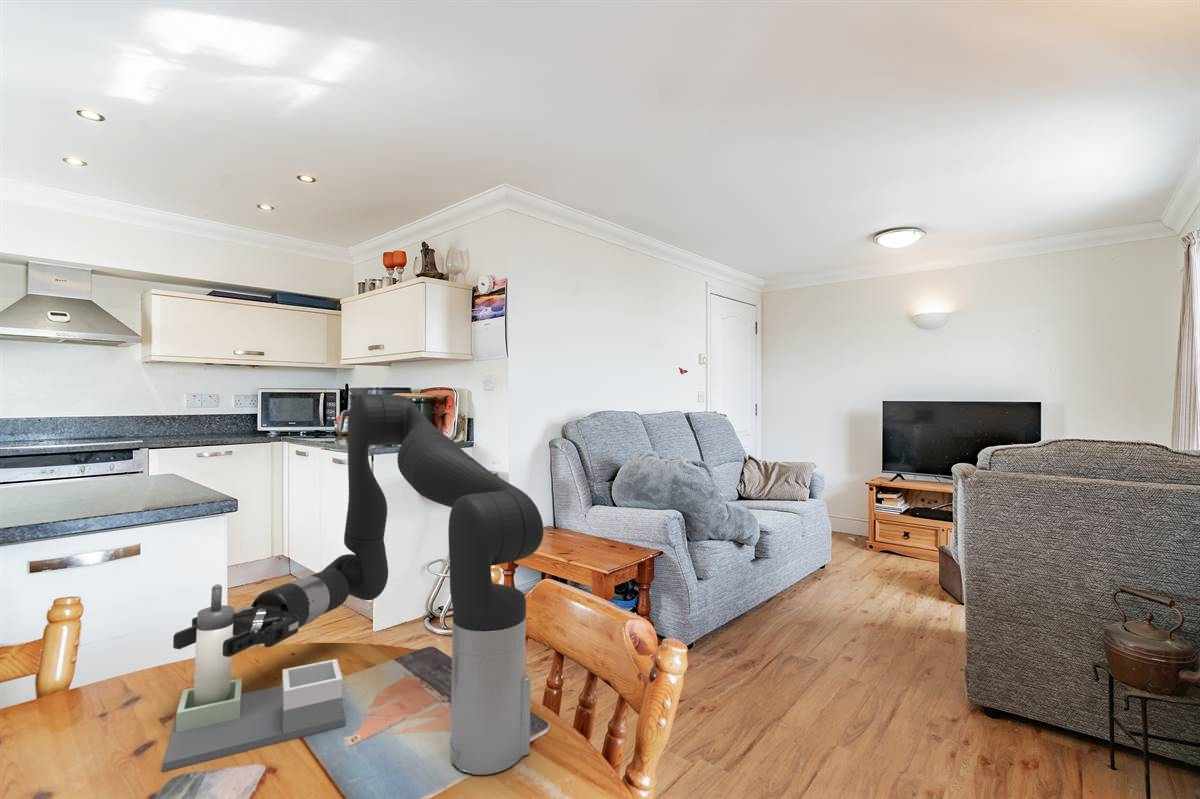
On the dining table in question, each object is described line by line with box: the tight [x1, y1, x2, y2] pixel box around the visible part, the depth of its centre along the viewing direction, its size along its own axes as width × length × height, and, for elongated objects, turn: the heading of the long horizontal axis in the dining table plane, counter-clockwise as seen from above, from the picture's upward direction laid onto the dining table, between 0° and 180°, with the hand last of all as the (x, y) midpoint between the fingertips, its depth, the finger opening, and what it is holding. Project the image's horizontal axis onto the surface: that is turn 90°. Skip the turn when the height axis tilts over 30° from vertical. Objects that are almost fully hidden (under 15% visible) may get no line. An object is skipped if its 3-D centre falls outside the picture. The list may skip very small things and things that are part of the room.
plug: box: [193, 583, 235, 707], centre depth 79 cm, size 4×4×18 cm
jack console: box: [162, 658, 347, 773], centre depth 79 cm, size 20×14×6 cm
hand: (199, 645), depth 77 cm, fingers open, 8 cm apart
